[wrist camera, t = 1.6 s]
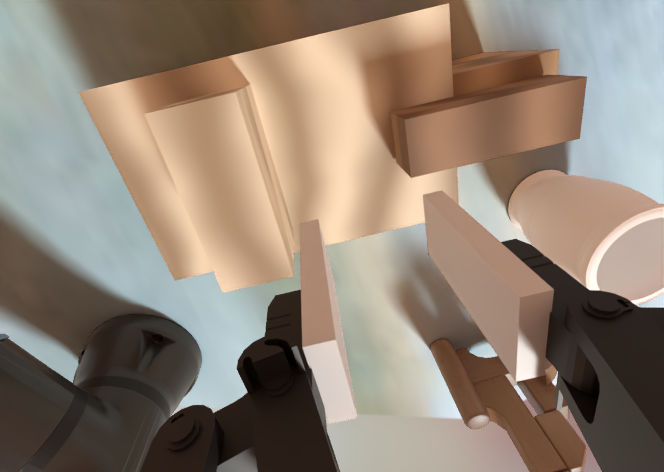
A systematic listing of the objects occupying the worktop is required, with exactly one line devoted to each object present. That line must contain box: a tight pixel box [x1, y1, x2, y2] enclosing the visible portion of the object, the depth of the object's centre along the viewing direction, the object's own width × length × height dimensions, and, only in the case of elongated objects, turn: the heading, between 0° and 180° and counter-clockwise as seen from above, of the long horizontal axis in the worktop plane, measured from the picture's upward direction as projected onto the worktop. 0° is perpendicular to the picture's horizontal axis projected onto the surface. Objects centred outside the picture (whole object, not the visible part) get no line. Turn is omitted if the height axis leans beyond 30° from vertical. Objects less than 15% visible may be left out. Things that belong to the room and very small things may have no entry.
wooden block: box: [390, 75, 587, 178], centre depth 25 cm, size 12×4×4 cm, turn 102°
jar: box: [508, 170, 664, 305], centre depth 38 cm, size 11×10×15 cm
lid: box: [79, 3, 459, 293], centre depth 25 cm, size 26×16×8 cm, turn 102°
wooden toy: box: [431, 339, 586, 472], centre depth 43 cm, size 16×7×25 cm, turn 108°
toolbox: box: [452, 49, 559, 96], centre depth 33 cm, size 34×16×12 cm, turn 102°
